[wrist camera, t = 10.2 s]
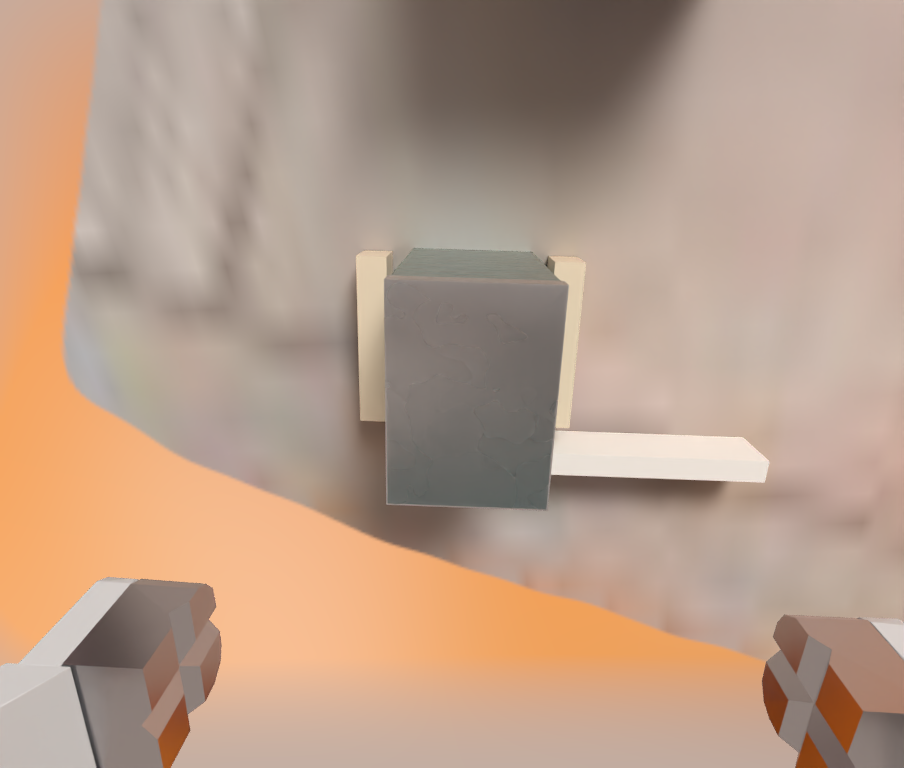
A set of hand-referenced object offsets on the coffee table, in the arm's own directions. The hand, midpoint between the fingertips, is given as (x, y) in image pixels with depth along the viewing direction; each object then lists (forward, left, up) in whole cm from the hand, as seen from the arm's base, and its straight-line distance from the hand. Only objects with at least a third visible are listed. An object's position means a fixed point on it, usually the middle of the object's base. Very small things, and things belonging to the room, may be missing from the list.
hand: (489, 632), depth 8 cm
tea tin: (0, 0, -18) cm, 18 cm away
